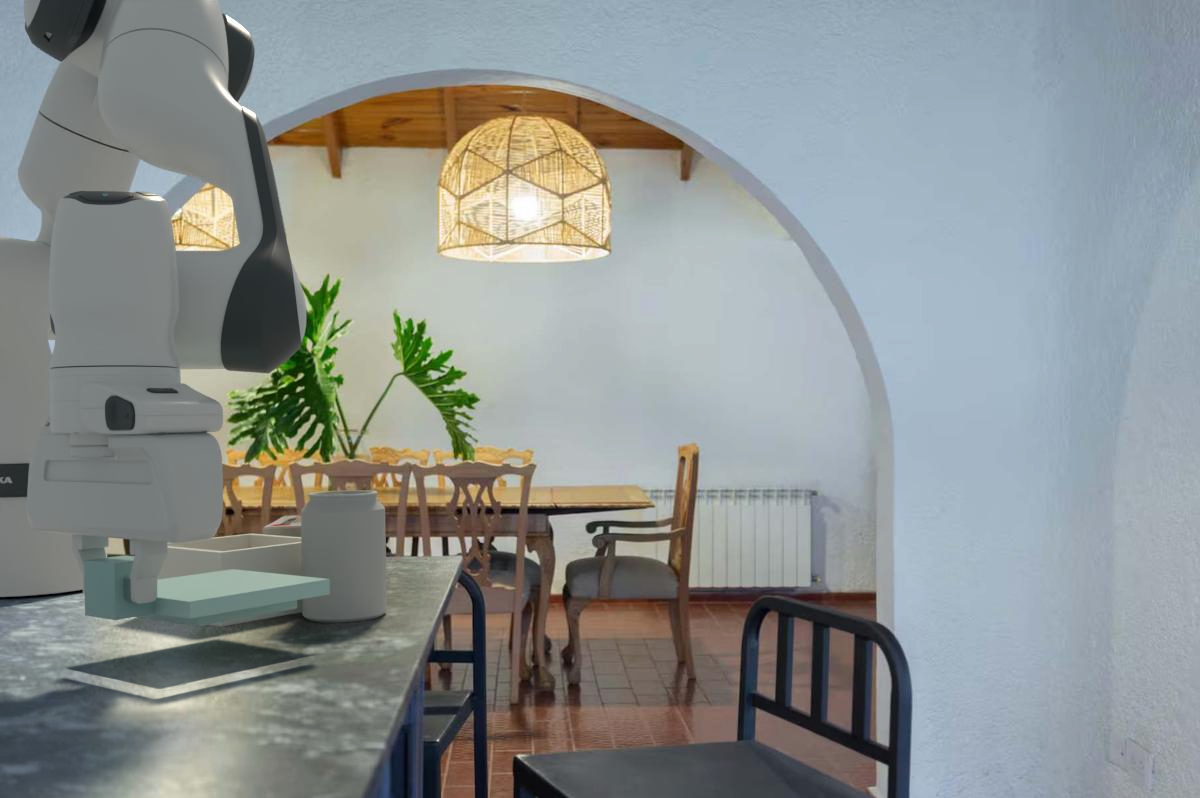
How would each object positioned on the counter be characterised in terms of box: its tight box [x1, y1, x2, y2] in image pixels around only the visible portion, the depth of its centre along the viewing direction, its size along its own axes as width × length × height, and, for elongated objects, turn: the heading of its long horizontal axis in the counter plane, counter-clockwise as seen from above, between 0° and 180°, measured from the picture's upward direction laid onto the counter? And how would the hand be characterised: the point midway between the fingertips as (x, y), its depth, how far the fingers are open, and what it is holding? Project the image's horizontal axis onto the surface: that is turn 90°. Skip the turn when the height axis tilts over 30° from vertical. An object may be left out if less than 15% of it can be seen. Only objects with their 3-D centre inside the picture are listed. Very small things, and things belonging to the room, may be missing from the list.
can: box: [300, 489, 388, 624], centre depth 106 cm, size 8×8×12 cm
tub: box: [157, 533, 302, 628], centre depth 110 cm, size 12×12×7 cm
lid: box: [84, 554, 330, 627], centre depth 90 cm, size 13×16×5 cm
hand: (119, 599), depth 85 cm, fingers closed on lid, 4 cm apart
